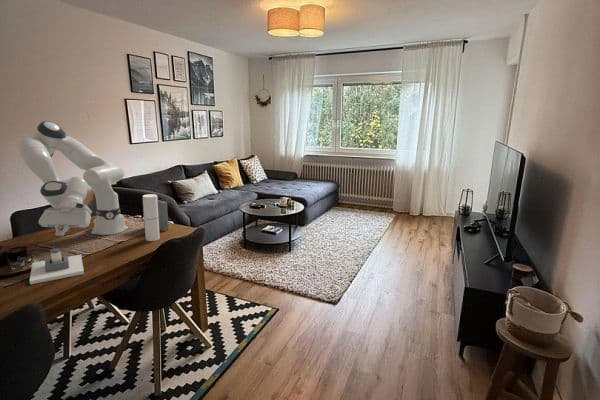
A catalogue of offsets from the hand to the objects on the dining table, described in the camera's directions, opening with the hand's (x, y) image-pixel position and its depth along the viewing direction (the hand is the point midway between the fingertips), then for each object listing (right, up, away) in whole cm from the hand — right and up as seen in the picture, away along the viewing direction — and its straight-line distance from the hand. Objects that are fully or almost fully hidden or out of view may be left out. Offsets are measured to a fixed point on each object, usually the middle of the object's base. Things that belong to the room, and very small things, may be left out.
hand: (59, 235), depth 144 cm
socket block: (+1, -15, -3) cm, 15 cm away
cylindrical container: (+24, -6, +38) cm, 46 cm away
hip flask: (+19, -2, +55) cm, 58 cm away
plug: (+1, -14, -3) cm, 14 cm away
